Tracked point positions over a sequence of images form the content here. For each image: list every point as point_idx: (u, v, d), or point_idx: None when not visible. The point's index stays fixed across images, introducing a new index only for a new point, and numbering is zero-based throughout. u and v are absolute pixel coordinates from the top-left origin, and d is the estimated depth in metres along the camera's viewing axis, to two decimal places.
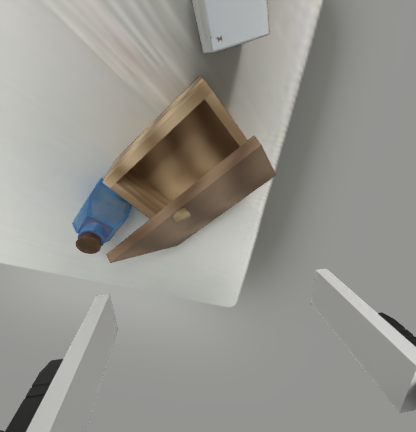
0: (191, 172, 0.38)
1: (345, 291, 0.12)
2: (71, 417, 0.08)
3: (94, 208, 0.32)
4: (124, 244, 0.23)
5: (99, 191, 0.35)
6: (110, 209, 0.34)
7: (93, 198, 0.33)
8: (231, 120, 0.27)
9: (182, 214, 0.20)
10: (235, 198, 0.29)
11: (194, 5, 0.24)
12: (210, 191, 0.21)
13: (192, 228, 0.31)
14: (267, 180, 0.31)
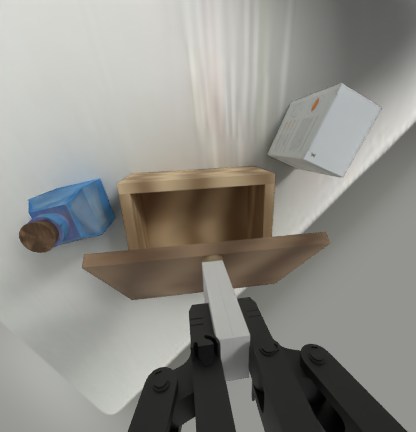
0: (191, 232, 0.35)
1: (223, 279, 0.14)
2: None
3: (77, 202, 0.25)
4: (122, 255, 0.16)
5: (92, 189, 0.28)
6: (91, 214, 0.27)
7: (84, 191, 0.26)
8: (271, 214, 0.28)
9: None
10: (235, 282, 0.26)
11: (287, 124, 0.30)
12: (253, 257, 0.18)
13: (173, 288, 0.25)
14: (266, 283, 0.29)
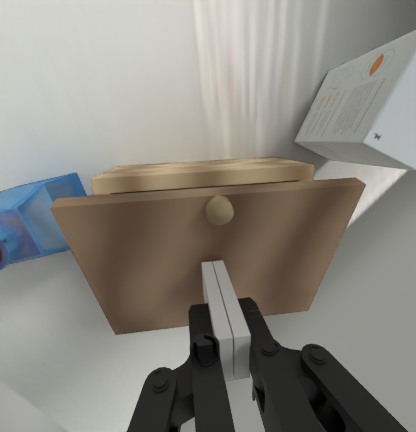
0: None
1: (223, 279, 0.14)
2: None
3: (36, 204, 0.18)
4: (103, 198, 0.13)
5: (62, 186, 0.21)
6: None
7: (46, 189, 0.18)
8: None
9: (227, 202, 0.13)
10: (254, 297, 0.20)
11: (324, 99, 0.22)
12: (271, 212, 0.14)
13: (171, 303, 0.19)
14: (296, 309, 0.22)
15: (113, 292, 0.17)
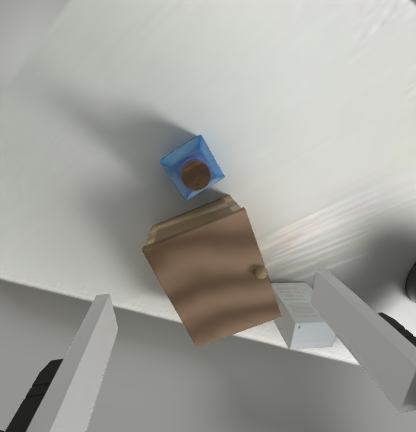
0: None
1: (345, 291, 0.12)
2: (71, 417, 0.08)
3: (215, 180, 0.29)
4: None
5: None
6: (203, 189, 0.30)
7: None
8: None
9: None
10: (202, 313, 0.33)
11: (295, 289, 0.42)
12: (261, 291, 0.32)
13: (186, 273, 0.30)
14: (196, 340, 0.34)
15: (191, 241, 0.29)
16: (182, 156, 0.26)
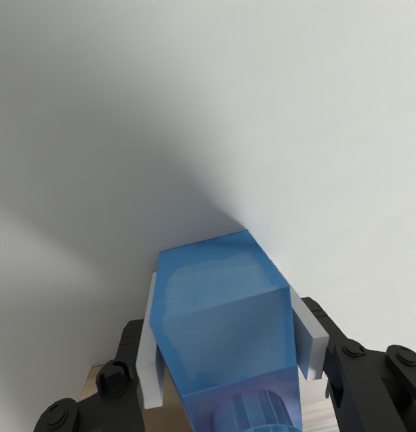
0: None
1: None
2: (159, 359, 0.10)
3: None
4: None
5: None
6: None
7: None
8: None
9: None
10: None
11: None
12: None
13: None
14: None
15: None
16: (228, 362, 0.08)
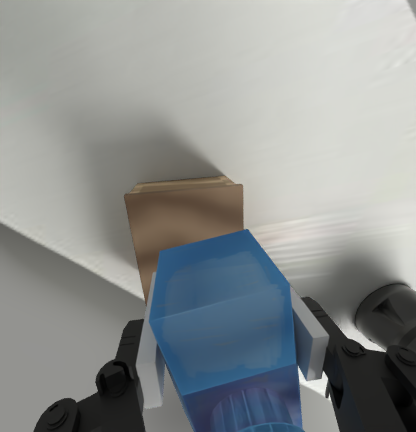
0: None
1: None
2: (159, 359, 0.10)
3: None
4: None
5: None
6: None
7: None
8: None
9: None
10: None
11: None
12: None
13: (163, 235, 0.28)
14: None
15: (178, 202, 0.27)
16: (228, 361, 0.08)
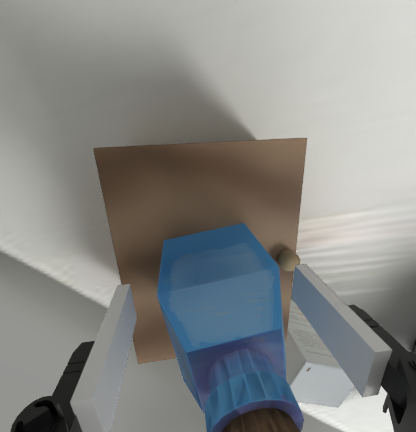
0: None
1: (320, 285, 0.13)
2: (106, 391, 0.09)
3: None
4: None
5: None
6: None
7: None
8: None
9: None
10: None
11: (299, 310, 0.30)
12: None
13: (165, 225, 0.16)
14: (141, 352, 0.20)
15: (194, 165, 0.15)
16: (225, 326, 0.09)
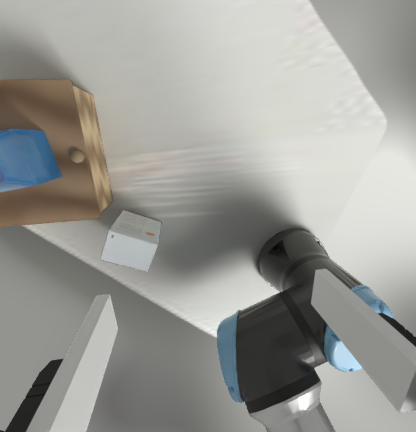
0: None
1: (345, 291, 0.12)
2: (71, 417, 0.08)
3: (15, 185, 0.24)
4: (75, 103, 0.29)
5: None
6: (4, 190, 0.25)
7: None
8: None
9: (83, 159, 0.31)
10: None
11: (144, 220, 0.42)
12: (79, 181, 0.32)
13: None
14: None
15: (2, 92, 0.27)
16: None
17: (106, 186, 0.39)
